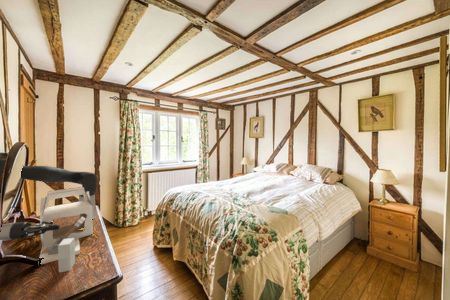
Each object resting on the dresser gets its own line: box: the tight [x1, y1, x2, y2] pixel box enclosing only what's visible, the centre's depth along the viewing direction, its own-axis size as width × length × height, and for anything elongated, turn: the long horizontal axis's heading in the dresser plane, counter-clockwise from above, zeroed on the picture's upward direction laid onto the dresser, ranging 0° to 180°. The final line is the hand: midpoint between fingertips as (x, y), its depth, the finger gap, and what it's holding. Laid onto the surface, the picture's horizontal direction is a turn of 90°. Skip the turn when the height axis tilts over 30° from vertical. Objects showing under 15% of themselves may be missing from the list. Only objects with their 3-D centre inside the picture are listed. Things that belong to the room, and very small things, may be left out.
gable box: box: [39, 186, 94, 247], centre depth 113 cm, size 22×13×28 cm, turn 137°
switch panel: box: [38, 237, 81, 265], centre depth 99 cm, size 14×15×6 cm
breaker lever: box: [57, 217, 85, 244], centre depth 100 cm, size 6×2×14 cm
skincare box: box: [57, 238, 76, 273], centre depth 87 cm, size 6×4×12 cm
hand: (59, 226), depth 98 cm, fingers closed
